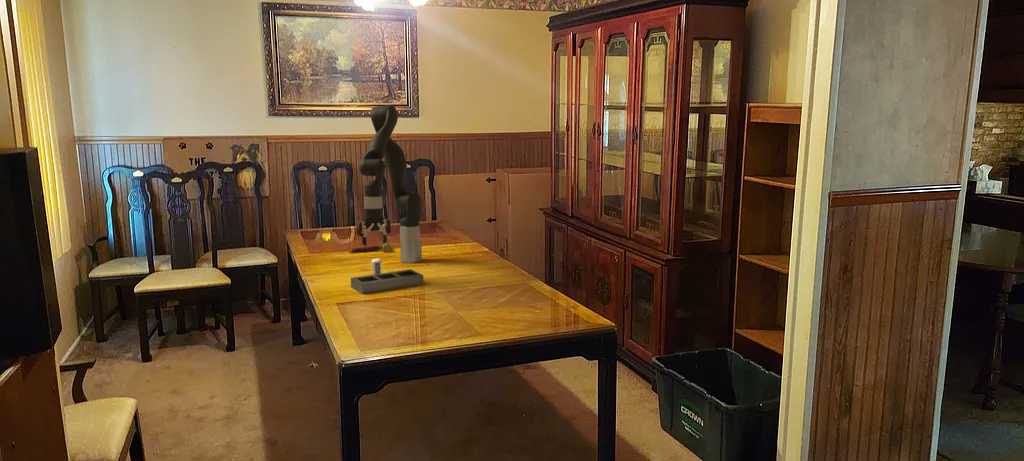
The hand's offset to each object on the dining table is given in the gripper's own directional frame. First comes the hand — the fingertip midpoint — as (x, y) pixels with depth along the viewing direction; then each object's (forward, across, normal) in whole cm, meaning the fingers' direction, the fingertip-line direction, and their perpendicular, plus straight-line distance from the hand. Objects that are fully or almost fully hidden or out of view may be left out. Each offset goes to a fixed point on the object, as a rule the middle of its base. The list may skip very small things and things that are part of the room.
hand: (374, 244), depth 296 cm
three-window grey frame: (+15, 0, +12) cm, 20 cm away
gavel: (+16, -19, -54) cm, 60 cm away
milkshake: (+15, 0, 0) cm, 16 cm away
